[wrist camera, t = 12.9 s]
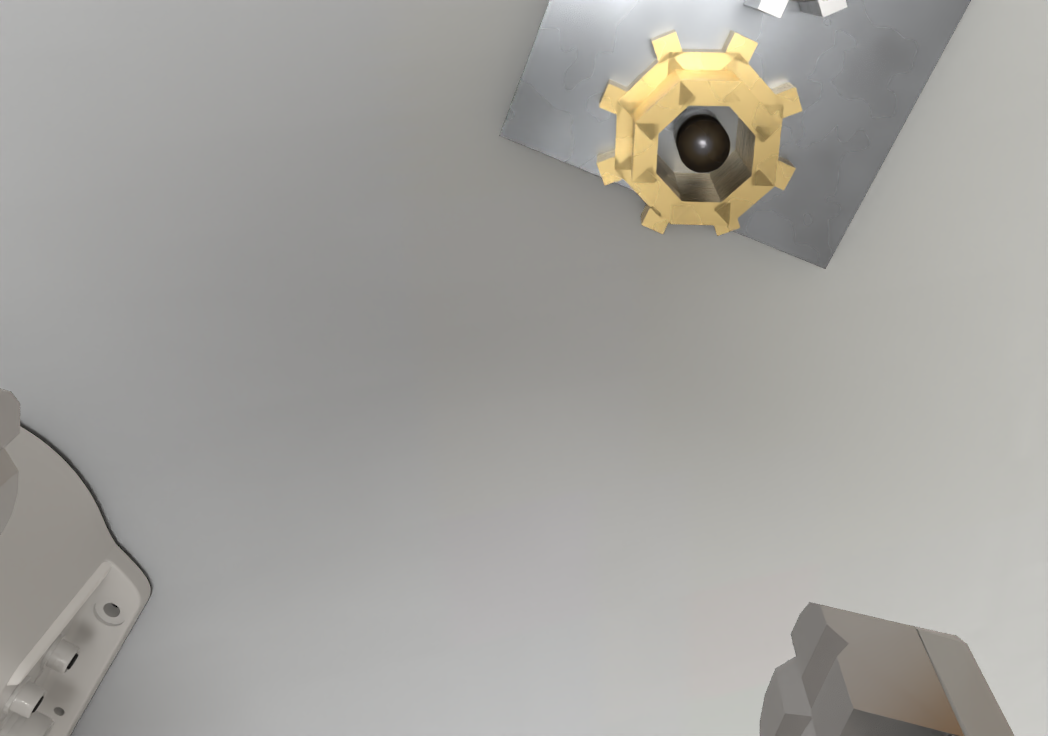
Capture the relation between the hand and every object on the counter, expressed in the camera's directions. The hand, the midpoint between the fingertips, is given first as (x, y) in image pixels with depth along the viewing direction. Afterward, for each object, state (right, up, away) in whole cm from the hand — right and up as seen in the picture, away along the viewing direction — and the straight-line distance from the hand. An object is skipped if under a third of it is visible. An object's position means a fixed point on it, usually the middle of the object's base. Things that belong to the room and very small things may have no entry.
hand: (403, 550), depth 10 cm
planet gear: (+8, +11, +27) cm, 30 cm away
